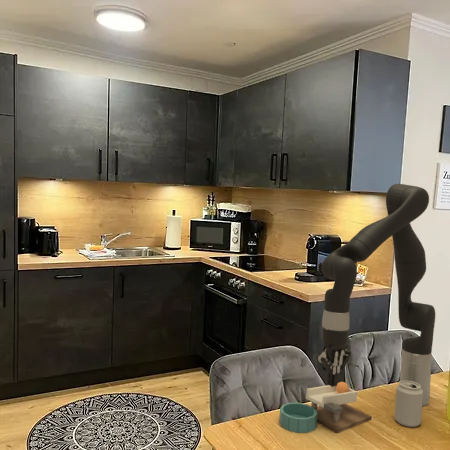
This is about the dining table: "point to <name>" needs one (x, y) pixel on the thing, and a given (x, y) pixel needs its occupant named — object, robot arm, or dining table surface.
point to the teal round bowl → (298, 417)
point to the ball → (342, 387)
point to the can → (408, 403)
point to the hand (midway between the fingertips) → (332, 385)
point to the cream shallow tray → (330, 397)
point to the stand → (340, 417)
